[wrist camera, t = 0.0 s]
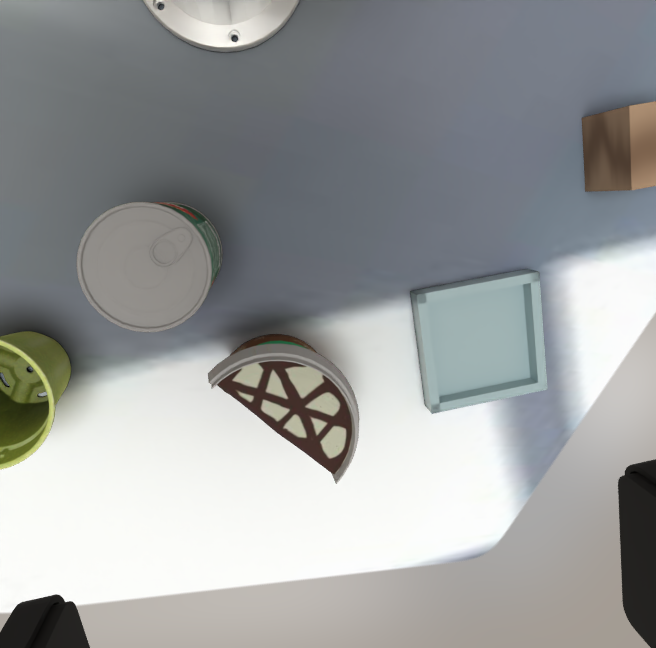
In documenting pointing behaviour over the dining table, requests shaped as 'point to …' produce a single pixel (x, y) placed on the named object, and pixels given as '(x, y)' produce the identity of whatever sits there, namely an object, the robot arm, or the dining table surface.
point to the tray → (480, 339)
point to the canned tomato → (149, 264)
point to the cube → (620, 148)
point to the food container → (295, 396)
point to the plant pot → (29, 392)
